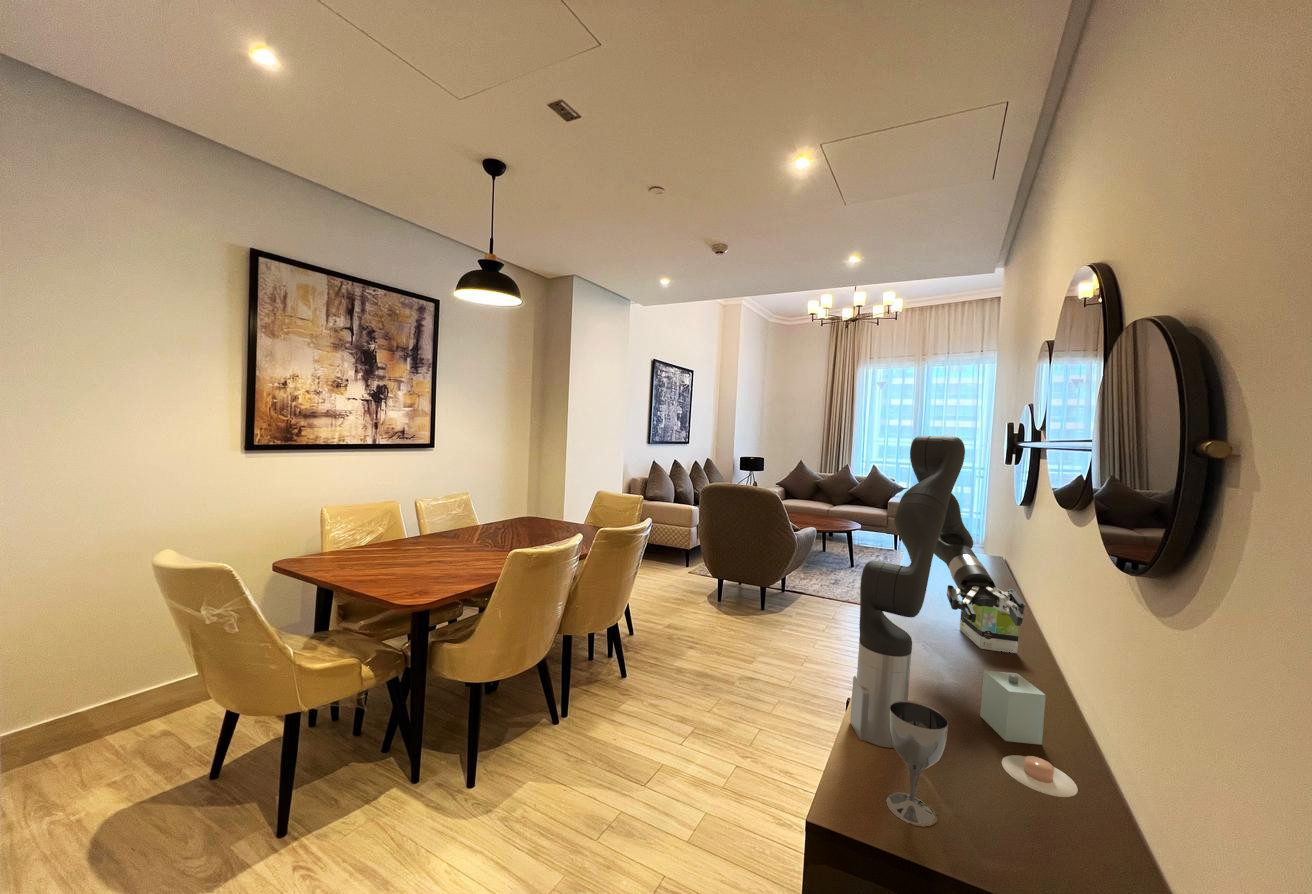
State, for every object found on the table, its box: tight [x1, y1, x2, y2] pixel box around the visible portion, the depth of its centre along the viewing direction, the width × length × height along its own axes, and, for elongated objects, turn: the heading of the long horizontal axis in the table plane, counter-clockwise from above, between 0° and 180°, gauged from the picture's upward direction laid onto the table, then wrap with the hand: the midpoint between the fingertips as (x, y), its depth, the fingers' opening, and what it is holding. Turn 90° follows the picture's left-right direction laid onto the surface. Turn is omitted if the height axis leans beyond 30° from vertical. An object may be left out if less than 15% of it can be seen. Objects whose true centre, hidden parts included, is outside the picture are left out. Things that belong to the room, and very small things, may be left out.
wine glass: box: [885, 700, 949, 825], centre depth 77 cm, size 8×8×15 cm
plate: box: [1001, 754, 1079, 798], centre depth 86 cm, size 10×10×1 cm
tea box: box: [959, 587, 1020, 654], centre depth 148 cm, size 15×10×15 cm, turn 168°
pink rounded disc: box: [1024, 755, 1055, 783], centre depth 86 cm, size 4×4×2 cm
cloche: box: [979, 669, 1047, 746], centre depth 100 cm, size 7×9×11 cm
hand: (996, 621), depth 107 cm, fingers open, 8 cm apart
